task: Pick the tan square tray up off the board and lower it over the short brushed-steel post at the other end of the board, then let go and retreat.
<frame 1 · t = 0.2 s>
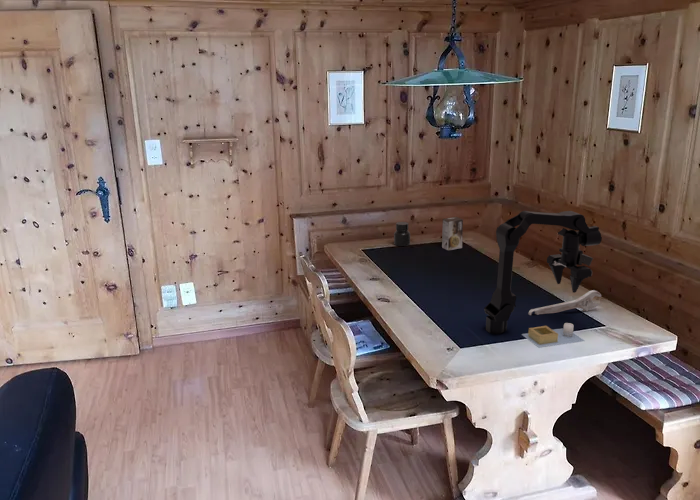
hand: (566, 288, 207), 14 cm above the table, tool pointing down, fingers open, 9 cm apart
board: (552, 340, 199), on the table
coffee box: (451, 248, 307), on the table
ink bottle: (402, 244, 315), on the table
wrench: (564, 314, 221), on the table
tan square tray: (542, 338, 198), point 1 cm above the table, touching board
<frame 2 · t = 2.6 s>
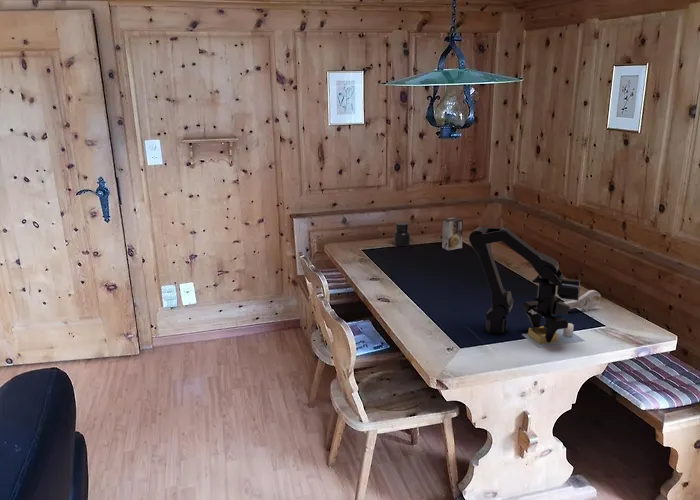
hand: (542, 337, 197), 2 cm above the table, tool pointing down, fingers closed on tan square tray, 7 cm apart
tan square tray: (542, 338, 198), point 1 cm above the table, touching board, gripper
everything else where it was.
when the fingers open (3 cm above the table, at t = 7.0 s): tan square tray drops 1 cm, resting on board.
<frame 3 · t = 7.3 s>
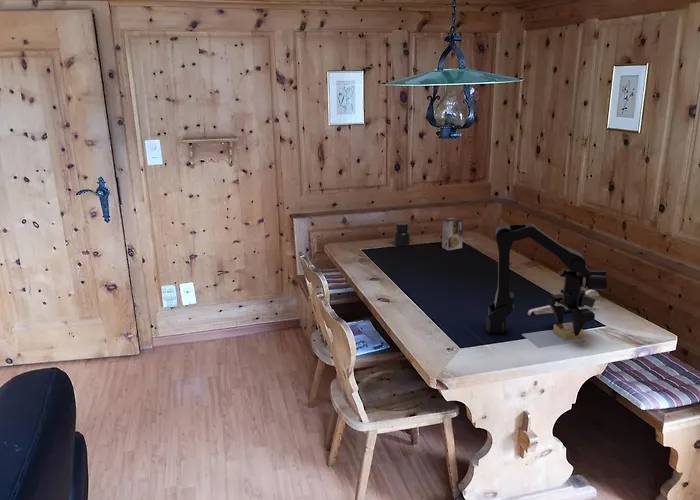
hand: (568, 330, 199), 3 cm above the table, tool pointing down, fingers open, 9 cm apart
tan square tray: (567, 335, 200), point 1 cm above the table, touching board
everything else where it was.
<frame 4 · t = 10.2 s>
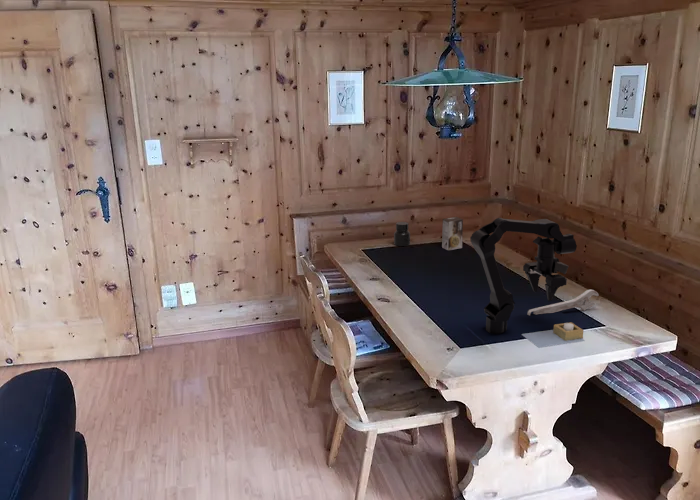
hand: (542, 296, 206), 12 cm above the table, tool pointing down, fingers open, 9 cm apart
nothing on the table moved.
at the end: tan square tray 0.0 cm from the target spot, point 1.0 cm above the table; the gripper is holding nothing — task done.
